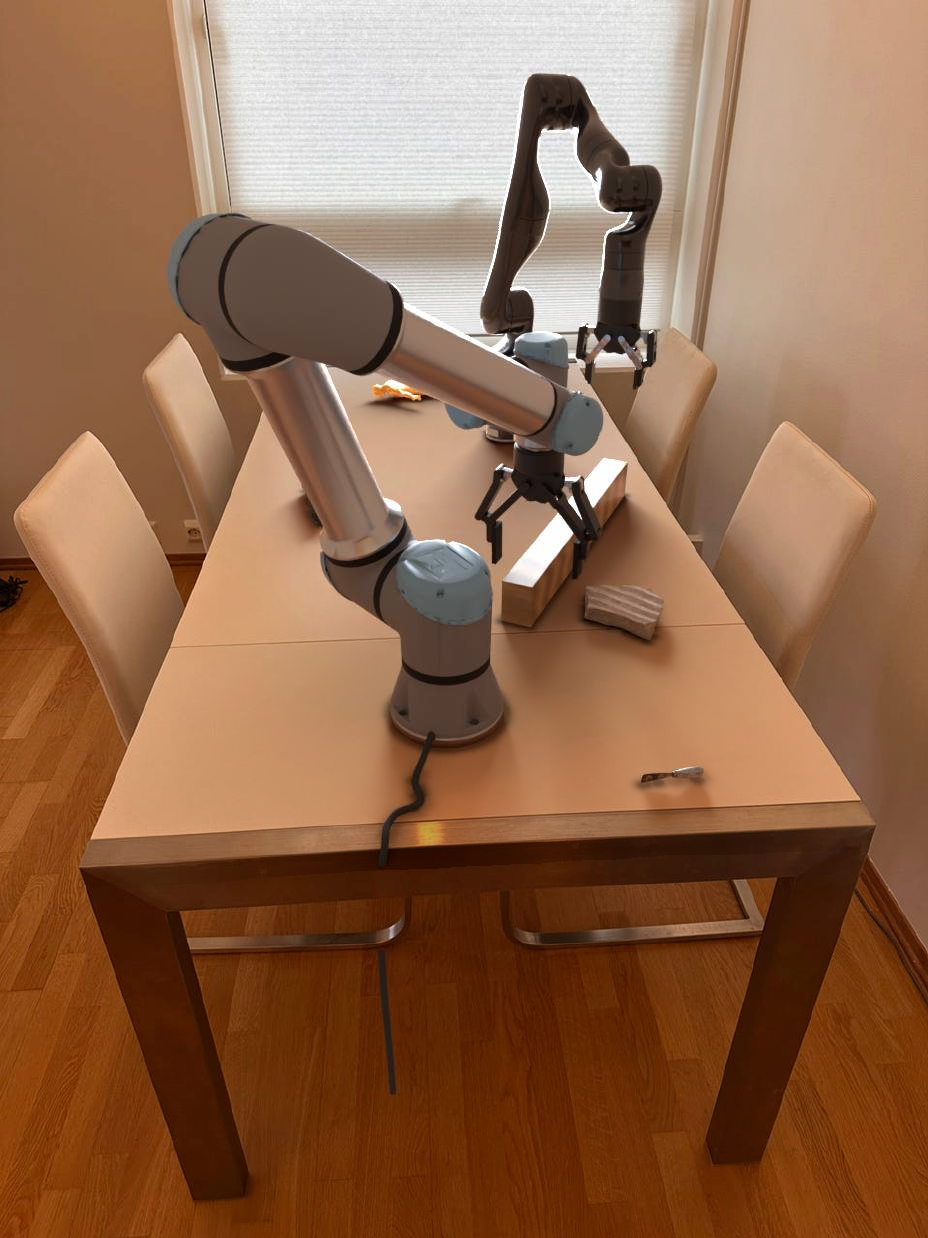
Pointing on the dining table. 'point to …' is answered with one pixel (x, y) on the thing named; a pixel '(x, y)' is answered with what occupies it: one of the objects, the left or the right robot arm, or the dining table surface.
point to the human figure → (396, 390)
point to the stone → (624, 608)
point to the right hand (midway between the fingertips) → (613, 385)
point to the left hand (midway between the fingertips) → (536, 568)
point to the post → (557, 549)
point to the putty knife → (674, 774)
